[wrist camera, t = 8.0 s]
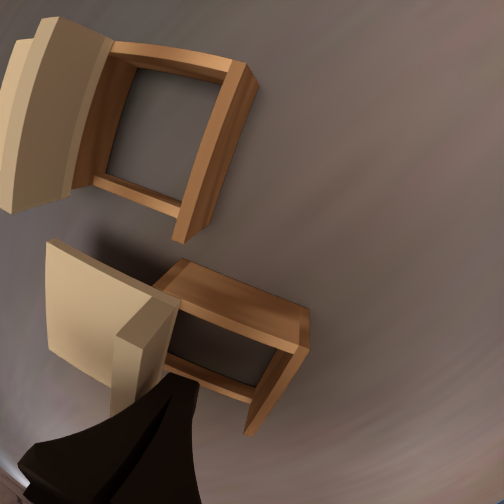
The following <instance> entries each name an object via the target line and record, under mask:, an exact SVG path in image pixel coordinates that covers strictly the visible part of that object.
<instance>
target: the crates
mask: <svg viewBox="0 0 504 504" xmlns="http://www.w3.org/2000/svg"><path fill="white" fill-rule="evenodd" d="M138 67H139V68H145V69H151V70H156V71H162V72H167V73H172V74H177V75H182V76H186V77H191V78H195V79H199V80H204V81H208V82H212V83H215V84H219V85H222V87H221V90H220V92H219V95H218V97H217V100H216V103H215V105H214V108H213V111H212V113H211V116H210V119H209V122H208V124H207V127H206V130H205V133H204V136H203V139H202V141H201V144H200V147H199V150H198V153H197V156H196V159H195V162H194V165H193V168H192V171H191V175H190V178H189V181H188V184H187V187H186V191H185V194H184V197H183V200H182V202H181V201H178V200H176V199H173V198H170V197H168V196H165V195H162V194H160V193H157V192H154V191H152V190H149V189H146V188H144V187H141V186H138V185H136V184H133V183H130V182H127V181H125V180H122V179H119V178H117V177H114V176H111V175H108V174H106V168H107V164H108V160H109V156H110V152H111V148H112V144H113V141H114V137H115V134H116V130H117V127H118V123H119V120H120V117H121V113H122V110H123V107H124V104H125V101H126V98H127V95H128V92H129V89H130V86H131V84H132V81H133V78H134V75H135V73H136V70H137V68H138ZM258 88H259V84H258V82H257V80H256V78H255V77H254V75H253V73H252V72H251V70H250V68H249V67H248V65H247V63H243V62H239V61H236V60H232V59H227V58H223V57H219V56H214V55H210V54H205V53H200V52H195V51H190V50H184V49H178V48H172V47H165V46H158V45H150V44H142V43H132V42H119V41H114V42H113V44H112V46H111V49H110V51H109V54H108V56H107V59H106V61H105V64H104V67H103V69H102V72H101V75H100V78H99V81H98V84H97V86H96V90H95V93H94V96H93V99H92V102H91V105H90V109H89V112H88V116H87V119H86V123H85V126H84V130H83V134H82V138H81V142H80V147H79V151H78V155H77V160H76V165H75V170H74V175H73V180H72V186H71V190H72V189H76V188H80V187H84V186H89V185H94V186H97V187H99V188H102V189H104V190H107V191H109V192H112V193H114V194H117V195H120V196H122V197H125V198H127V199H130V200H132V201H135V202H137V203H140V204H142V205H145V206H147V207H150V208H152V209H155V210H157V211H160V212H162V213H165V214H168V215H170V216H173V217H175V218H177V221H176V224H175V228H174V232H173V235H172V240H174V241H177V242H179V243H181V244H184V243H186V242H187V241H188V240H189V239H191V238H192V237H193V236H194V235H196V234H197V233H198V232H199V231H201V230H202V229H203V228H204V227H206V226H207V225H208V224H209V223H210V220H211V217H212V214H213V211H214V208H215V205H216V202H217V199H218V196H219V193H220V190H221V187H222V185H223V182H224V179H225V176H226V173H227V170H228V167H229V165H230V162H231V159H232V156H233V154H234V151H235V148H236V145H237V143H238V140H239V137H240V134H241V132H242V129H243V126H244V124H245V121H246V118H247V116H248V113H249V111H250V108H251V105H252V103H253V100H254V98H255V95H256V93H257V90H258ZM152 287H153V288H155V289H158V290H160V291H162V292H164V293H166V294H169V295H171V296H173V297H175V298H178V299H180V300H181V302H180V306H179V309H181V310H183V311H185V312H187V313H190V314H192V315H194V316H197V317H199V318H201V319H204V320H206V321H208V322H211V323H213V324H216V325H218V326H221V327H223V328H225V329H228V330H230V331H233V332H235V333H238V334H241V335H243V336H246V337H248V338H251V339H253V340H256V341H259V342H261V343H264V344H267V345H269V346H272V347H275V348H278V349H277V350H276V352H275V354H274V356H273V358H272V360H271V361H270V363H269V365H268V367H267V369H266V370H265V372H264V374H263V376H262V378H261V379H260V381H259V383H258V385H257V386H256V388H254V387H252V386H249V385H246V384H243V383H240V382H238V381H235V380H232V379H230V378H227V377H225V376H222V375H219V374H217V373H214V372H212V371H210V370H207V369H205V368H202V367H200V366H197V365H195V364H193V363H190V362H188V361H186V360H183V359H181V358H179V357H177V356H174V355H172V354H170V353H168V352H167V354H166V358H165V362H164V366H163V369H164V370H166V371H168V372H172V373H175V374H178V375H180V376H183V377H186V378H189V379H192V380H195V381H198V382H199V384H200V385H201V386H203V387H206V388H208V389H211V390H213V391H216V392H218V393H221V394H223V395H226V396H229V397H232V398H234V399H237V400H240V401H243V402H245V403H248V404H250V407H249V412H248V416H247V420H246V425H245V429H244V433H243V434H244V435H247V436H250V437H252V436H253V435H254V434H255V432H256V431H257V430H258V428H259V427H260V425H261V424H262V423H263V421H264V420H265V418H266V417H267V415H268V414H269V413H270V411H271V410H272V408H273V407H274V405H275V404H276V402H277V401H278V399H279V398H280V396H281V395H282V393H283V392H284V390H285V389H286V387H287V386H288V384H289V383H290V381H291V379H292V378H293V376H294V375H295V373H296V372H297V370H298V368H299V367H300V365H301V364H302V362H303V360H304V359H305V357H306V355H307V354H308V352H309V351H310V321H309V309H308V308H305V307H303V306H300V305H297V304H295V303H292V302H290V301H287V300H284V299H282V298H279V297H277V296H274V295H272V294H269V293H267V292H264V291H262V290H259V289H257V288H254V287H251V286H249V285H246V284H244V283H242V282H239V281H237V280H234V279H232V278H229V277H227V276H224V275H222V274H219V273H217V272H215V271H212V270H210V269H207V268H205V267H202V266H200V265H198V264H195V263H193V262H190V261H188V260H186V259H183V258H181V259H180V260H179V261H178V262H177V263H176V264H175V265H174V266H173V267H172V268H171V269H170V270H169V271H167V272H166V273H165V274H164V275H163V276H162V277H161V278H160V279H159V280H158V281H157V282H156V283H155V284H154V285H153V286H152Z"/></svg>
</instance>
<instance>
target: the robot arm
mask: <svg viewBox="0 0 504 504" xmlns="http://www.w3.org/2000/svg"><path fill="white" fill-rule="evenodd" d="M199 386H200V384H199V382H198V381H195V380H192V379H189V378H186V377H183V376H180V375H178V374H175V373H172V372H170V373H168V374H167V375H166V376H165V377H164V378H163V379H162V380H161V381H160V382H159V383H158V384H157V385H155V386H154V387H153V388H152V389H151V390H150V391H148V392H147V393H146V394H145V395H143V396H142V397H141V398H139V399H138V400H137V401H136V402H134V403H133V404H131V405H130V406H128V407H127V408H125V409H124V410H122V411H121V412H119V413H118V414H116V415H114V416H113V417H111V418H109V419H107V420H105V421H103V422H101V423H99V424H97V425H95V426H93V427H91V428H88V429H86V430H83V431H81V432H78V433H75V434H72V435H69V436H66V437H63V438H59V439H55V440H50V441H45V442H40V443H35V444H34V445H33V446H32V447H31V448H30V449H29V450H28V451H27V452H26V453H25V455H24V456H23V457H22V458H21V460H20V461H19V462H18V468H19V469H20V471H21V472H22V473H23V474H24V476H25V477H26V478H27V479H28V480H29V482H30V484H29V486H28V487H27V488H25V487H24V486H23V485H21V484H20V483H19V482H18V481H16V480H15V479H14V478H13V477H11V476H10V475H9V474H8V473H7V472H5V471H4V470H3V469H2V468H1V467H0V504H23V502H24V503H26V504H202V503H201V499H200V495H199V491H198V486H197V481H196V476H195V470H194V463H193V453H192V418H193V415H194V412H195V408H196V402H197V397H198V391H199ZM22 501H23V502H22Z"/></svg>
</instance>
